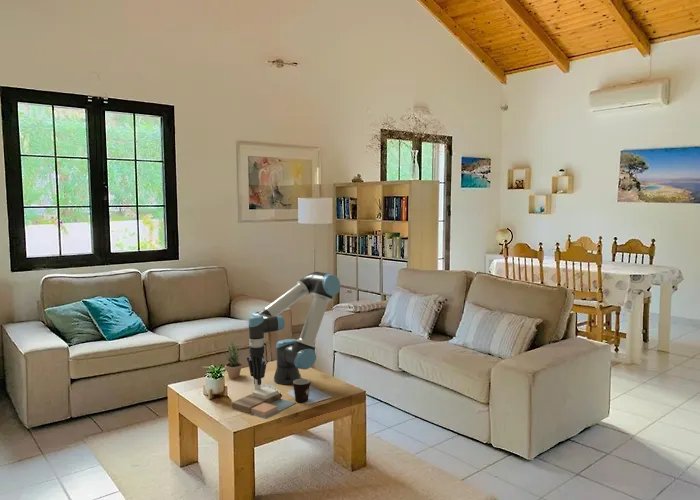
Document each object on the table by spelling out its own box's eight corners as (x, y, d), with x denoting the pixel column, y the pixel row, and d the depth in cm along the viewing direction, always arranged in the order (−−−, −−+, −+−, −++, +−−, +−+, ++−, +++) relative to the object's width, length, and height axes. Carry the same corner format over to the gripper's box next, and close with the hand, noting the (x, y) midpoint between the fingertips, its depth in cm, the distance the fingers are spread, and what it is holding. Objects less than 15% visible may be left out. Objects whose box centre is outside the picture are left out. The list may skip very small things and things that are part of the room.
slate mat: (281, 399, 279) (281, 398, 279) (296, 403, 273) (296, 402, 273) (250, 413, 261) (250, 413, 261) (265, 418, 255) (265, 417, 255)
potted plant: (233, 380, 308) (231, 337, 305) (222, 377, 314) (220, 335, 311) (246, 375, 316) (245, 334, 313) (235, 372, 322) (234, 331, 319)
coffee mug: (298, 405, 271) (298, 385, 270) (290, 400, 278) (289, 381, 277) (318, 399, 278) (318, 380, 277) (309, 394, 285) (309, 376, 284)
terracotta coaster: (264, 406, 269) (263, 402, 269) (277, 410, 264) (277, 406, 264) (250, 412, 262) (250, 408, 261) (264, 416, 256) (264, 412, 256)
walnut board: (263, 394, 286) (263, 388, 285) (280, 399, 279) (280, 393, 279) (232, 408, 268) (231, 402, 267) (249, 413, 261) (249, 407, 261)
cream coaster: (265, 390, 283) (265, 386, 283) (277, 394, 278) (277, 390, 278) (252, 395, 276) (252, 391, 276) (265, 399, 271) (265, 395, 270)
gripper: (242, 345, 278) (243, 390, 280) (260, 349, 270) (261, 395, 273) (253, 342, 284) (254, 385, 286) (271, 346, 277) (272, 390, 279)
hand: (257, 390), depth 280 cm, fingers closed
